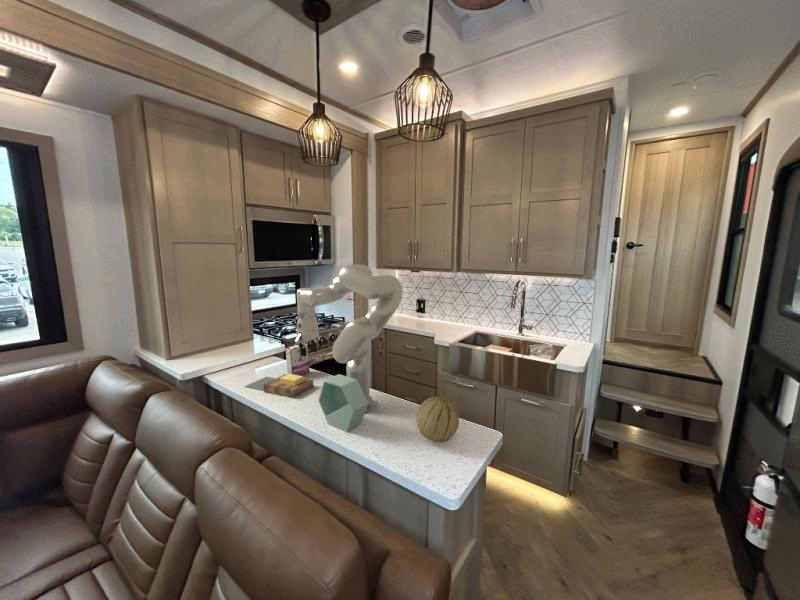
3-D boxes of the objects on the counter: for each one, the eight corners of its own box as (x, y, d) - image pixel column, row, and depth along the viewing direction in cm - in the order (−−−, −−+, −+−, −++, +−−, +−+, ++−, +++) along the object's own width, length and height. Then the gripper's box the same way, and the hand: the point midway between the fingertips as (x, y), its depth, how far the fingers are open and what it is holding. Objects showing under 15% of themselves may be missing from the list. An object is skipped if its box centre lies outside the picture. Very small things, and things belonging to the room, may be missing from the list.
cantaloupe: (407, 438, 115) (407, 398, 113) (434, 423, 125) (434, 385, 123) (441, 456, 104) (441, 412, 102) (467, 438, 114) (467, 397, 112)
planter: (333, 437, 124) (312, 387, 128) (348, 428, 130) (327, 381, 134) (360, 426, 114) (335, 372, 119) (374, 417, 120) (351, 366, 125)
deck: (313, 386, 161) (313, 379, 160) (293, 398, 148) (293, 390, 148) (285, 381, 168) (284, 374, 167) (264, 392, 155) (263, 384, 155)
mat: (286, 380, 169) (286, 380, 169) (265, 391, 156) (265, 390, 156) (266, 377, 175) (266, 376, 175) (244, 386, 162) (244, 386, 162)
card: (303, 381, 158) (303, 376, 157) (294, 385, 152) (294, 380, 152) (289, 378, 161) (288, 373, 161) (280, 383, 156) (279, 378, 155)
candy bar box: (304, 371, 183) (302, 342, 181) (310, 373, 180) (308, 344, 178) (286, 377, 174) (285, 347, 172) (292, 379, 171) (290, 349, 169)
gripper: (300, 319, 138) (302, 360, 141) (325, 312, 154) (326, 349, 156) (286, 318, 141) (288, 358, 144) (312, 311, 157) (314, 347, 160)
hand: (308, 353), depth 150 cm, fingers open, 6 cm apart
